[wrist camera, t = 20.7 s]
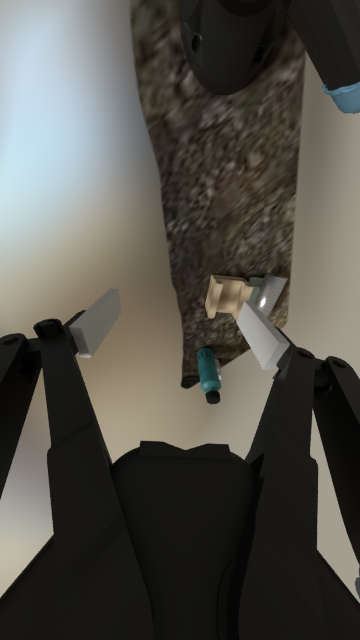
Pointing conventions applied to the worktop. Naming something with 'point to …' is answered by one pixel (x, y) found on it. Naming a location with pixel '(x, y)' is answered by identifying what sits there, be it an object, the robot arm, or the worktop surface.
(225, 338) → the worktop surface
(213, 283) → the wooden bracket
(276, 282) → the axle
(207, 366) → the beverage bottle
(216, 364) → the pill bottle
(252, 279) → the v block
